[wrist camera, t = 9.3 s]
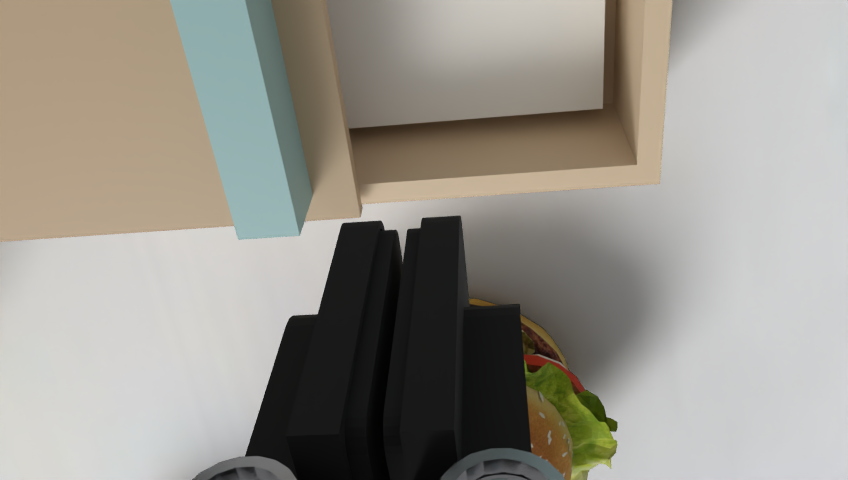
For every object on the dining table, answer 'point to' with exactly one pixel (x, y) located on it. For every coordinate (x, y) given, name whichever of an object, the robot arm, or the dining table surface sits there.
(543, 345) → the food
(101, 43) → the lid
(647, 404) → the dining table surface
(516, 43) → the box
